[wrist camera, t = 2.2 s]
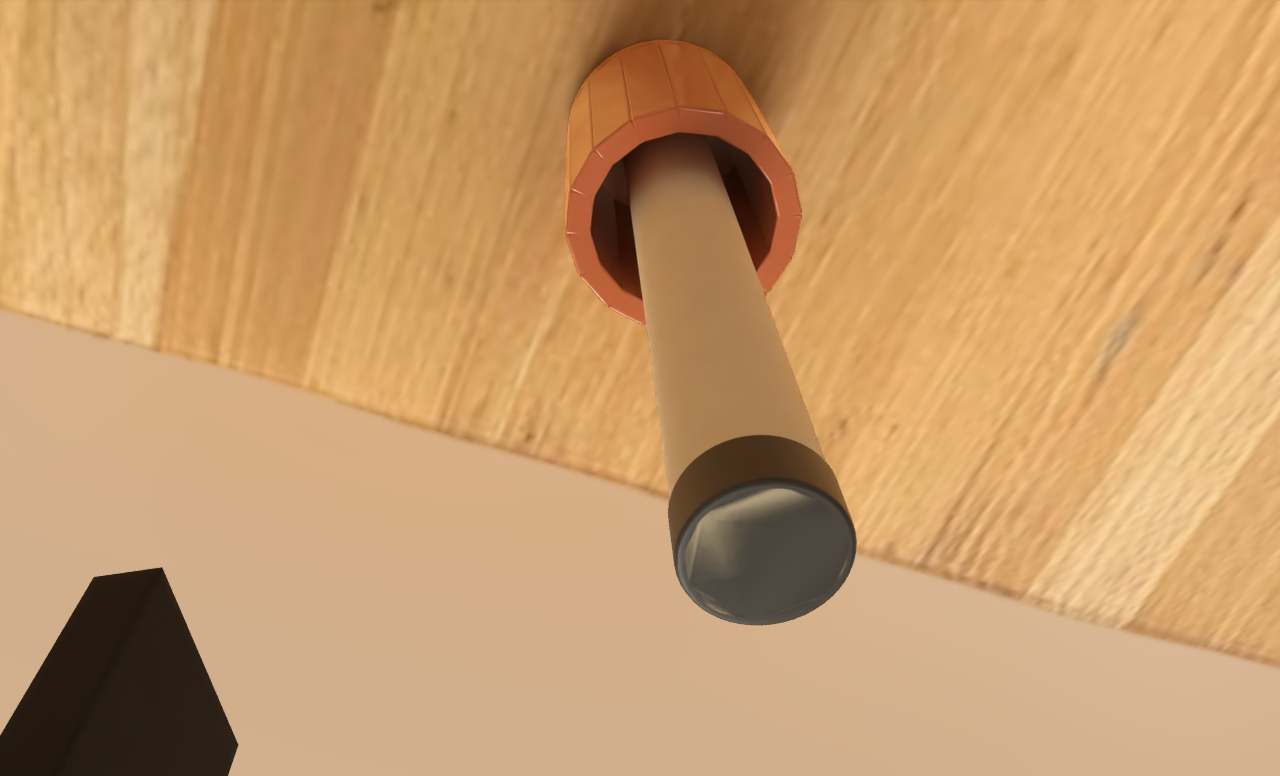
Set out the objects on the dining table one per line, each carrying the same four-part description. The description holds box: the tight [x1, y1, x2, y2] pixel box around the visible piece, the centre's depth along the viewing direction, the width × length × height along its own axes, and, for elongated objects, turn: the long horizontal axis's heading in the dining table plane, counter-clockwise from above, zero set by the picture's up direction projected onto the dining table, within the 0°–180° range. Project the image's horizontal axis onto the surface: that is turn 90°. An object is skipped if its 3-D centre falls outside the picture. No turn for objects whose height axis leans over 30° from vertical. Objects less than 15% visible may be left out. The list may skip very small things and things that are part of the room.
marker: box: [624, 132, 857, 625], centre depth 20 cm, size 2×2×16 cm
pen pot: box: [565, 39, 802, 325], centre depth 24 cm, size 5×5×6 cm
